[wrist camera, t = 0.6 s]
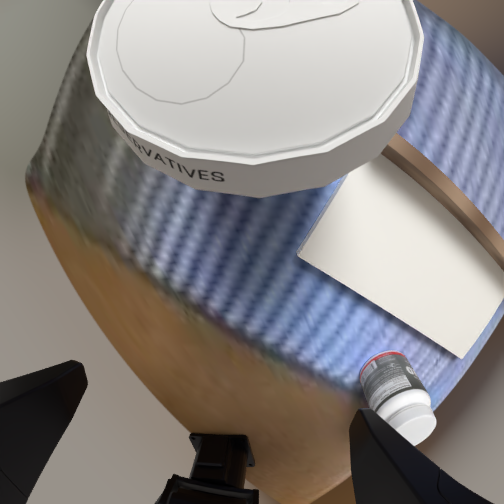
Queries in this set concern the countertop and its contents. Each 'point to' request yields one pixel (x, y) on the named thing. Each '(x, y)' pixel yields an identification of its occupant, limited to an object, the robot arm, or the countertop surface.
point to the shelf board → (411, 246)
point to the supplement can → (256, 86)
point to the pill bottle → (398, 395)
